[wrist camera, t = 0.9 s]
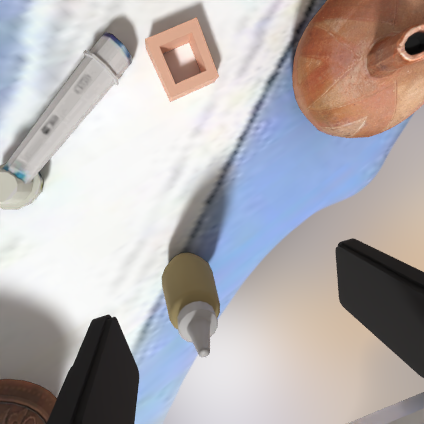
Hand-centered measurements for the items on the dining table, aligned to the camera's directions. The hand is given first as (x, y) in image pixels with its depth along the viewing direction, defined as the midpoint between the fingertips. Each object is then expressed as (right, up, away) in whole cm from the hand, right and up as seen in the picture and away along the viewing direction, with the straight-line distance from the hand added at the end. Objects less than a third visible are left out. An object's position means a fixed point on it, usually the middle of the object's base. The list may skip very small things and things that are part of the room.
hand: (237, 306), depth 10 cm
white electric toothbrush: (-21, +15, +23) cm, 34 cm away
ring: (-5, +24, +23) cm, 34 cm away
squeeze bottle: (-6, -6, +31) cm, 33 cm away
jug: (+17, +25, +28) cm, 42 cm away
